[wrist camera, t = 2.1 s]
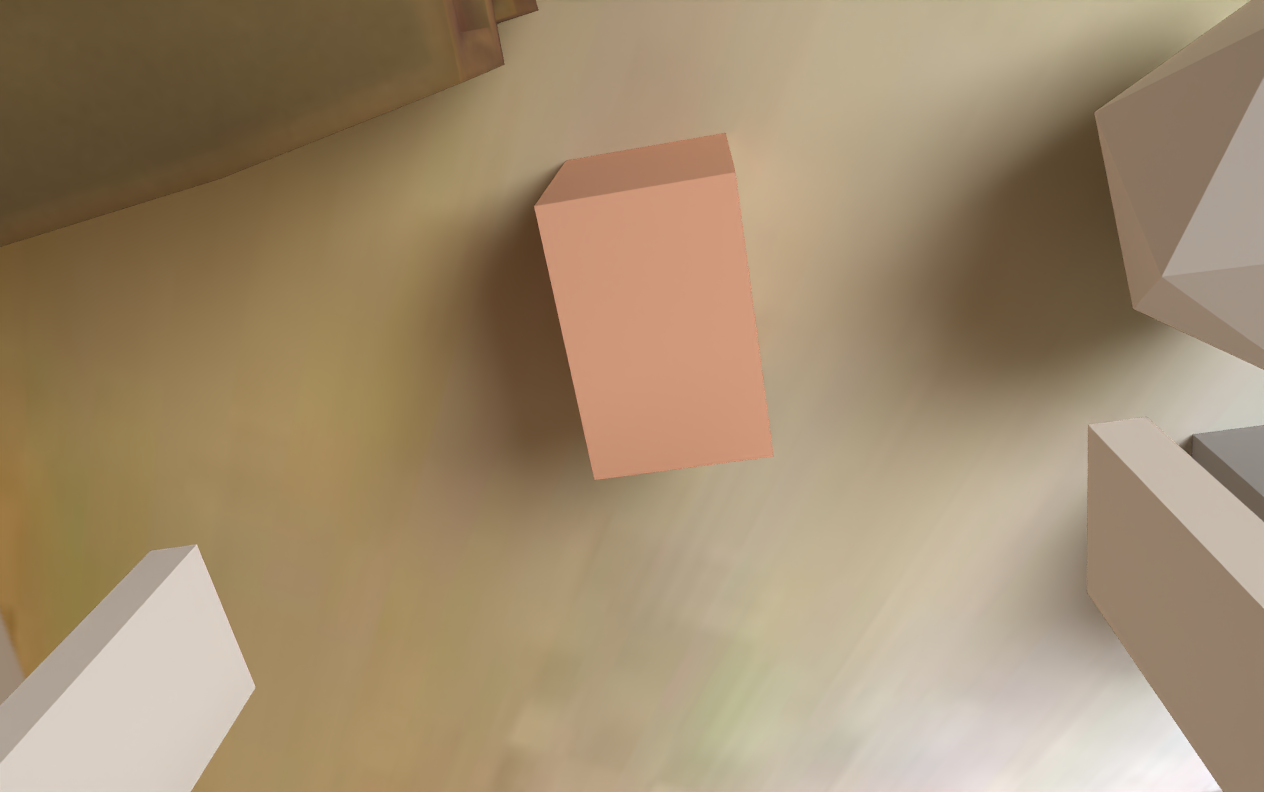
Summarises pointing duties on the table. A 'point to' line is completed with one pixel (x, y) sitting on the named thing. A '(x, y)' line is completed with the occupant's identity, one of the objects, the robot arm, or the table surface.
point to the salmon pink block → (657, 307)
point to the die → (1195, 186)
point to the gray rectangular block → (1235, 462)
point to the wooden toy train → (206, 89)
